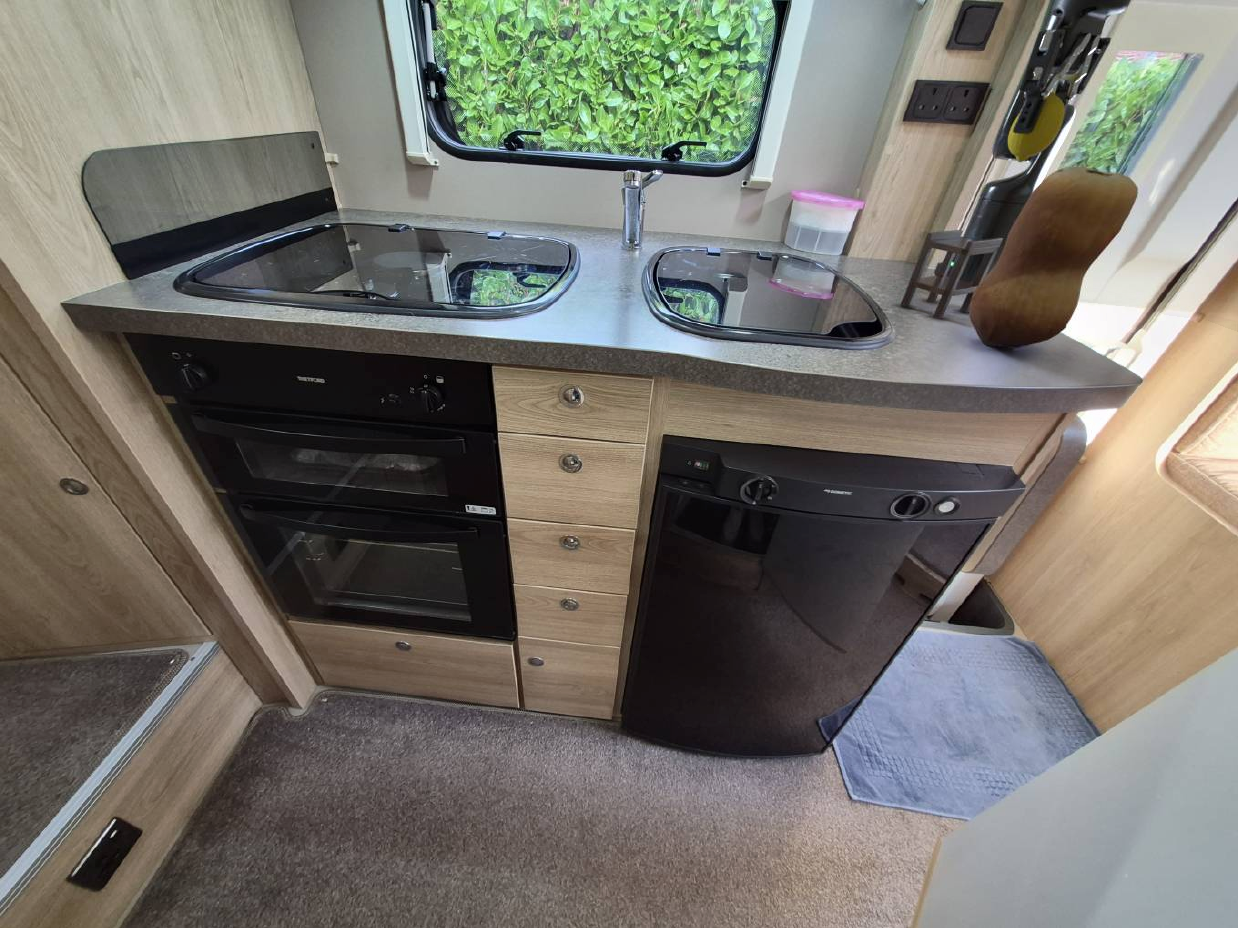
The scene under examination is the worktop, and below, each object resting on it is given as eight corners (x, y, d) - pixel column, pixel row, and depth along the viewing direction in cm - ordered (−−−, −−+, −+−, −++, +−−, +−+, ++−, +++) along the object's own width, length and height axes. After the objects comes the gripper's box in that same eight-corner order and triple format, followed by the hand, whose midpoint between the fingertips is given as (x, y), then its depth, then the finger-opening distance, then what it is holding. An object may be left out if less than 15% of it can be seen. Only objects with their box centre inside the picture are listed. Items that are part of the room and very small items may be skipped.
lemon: (992, 161, 69) (1022, 90, 65) (1002, 159, 73) (1031, 92, 68) (1039, 165, 66) (1073, 91, 61) (1047, 163, 69) (1080, 92, 65)
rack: (899, 306, 96) (927, 232, 88) (929, 300, 100) (959, 229, 92) (938, 319, 90) (972, 242, 82) (968, 312, 94) (1003, 238, 87)
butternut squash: (1050, 369, 73) (1167, 176, 58) (950, 346, 79) (1033, 165, 64) (1045, 342, 83) (1145, 170, 68) (956, 323, 88) (1030, 161, 74)
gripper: (1099, -27, 63) (1029, 131, 73) (1044, -44, 57) (976, 131, 67) (1174, -37, 58) (1088, 135, 68) (1122, -57, 52) (1036, 135, 62)
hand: (1033, 132), depth 67 cm, fingers closed on lemon, 5 cm apart
